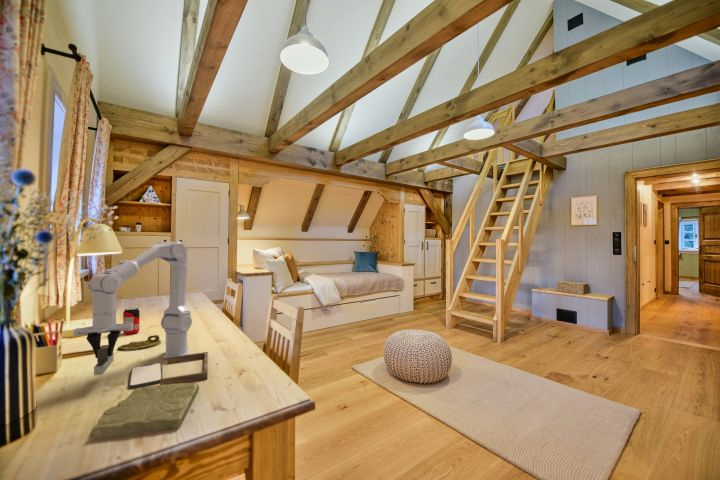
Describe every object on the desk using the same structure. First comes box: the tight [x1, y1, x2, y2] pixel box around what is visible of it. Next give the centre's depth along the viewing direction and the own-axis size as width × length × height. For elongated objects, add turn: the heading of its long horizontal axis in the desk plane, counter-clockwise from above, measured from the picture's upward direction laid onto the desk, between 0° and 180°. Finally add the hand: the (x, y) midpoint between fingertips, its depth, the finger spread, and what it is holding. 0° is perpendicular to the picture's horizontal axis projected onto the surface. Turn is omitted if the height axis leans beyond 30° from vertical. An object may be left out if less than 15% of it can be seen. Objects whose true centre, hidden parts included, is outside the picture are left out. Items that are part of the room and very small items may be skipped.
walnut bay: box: [159, 351, 209, 385], centre depth 108 cm, size 21×13×2 cm, turn 25°
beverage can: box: [122, 306, 141, 336], centre depth 151 cm, size 6×6×12 cm
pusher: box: [93, 344, 115, 376], centre depth 99 cm, size 12×2×6 cm, turn 25°
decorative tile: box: [90, 382, 200, 441], centre depth 82 cm, size 19×20×4 cm
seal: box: [117, 334, 162, 352], centre depth 132 cm, size 9×5×15 cm
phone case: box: [128, 362, 164, 390], centre depth 103 cm, size 9×2×16 cm
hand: (104, 356), depth 99 cm, fingers closed on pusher, 2 cm apart
